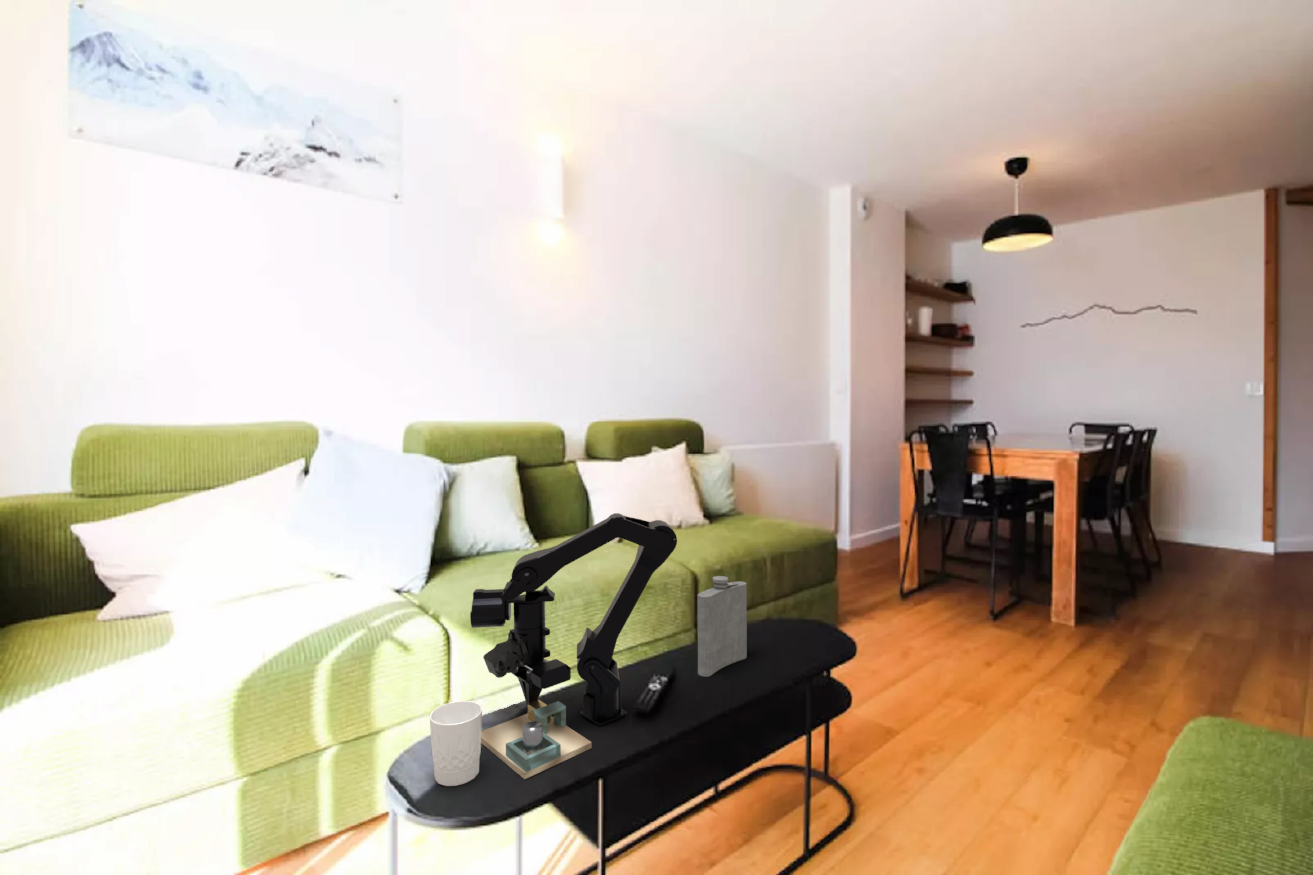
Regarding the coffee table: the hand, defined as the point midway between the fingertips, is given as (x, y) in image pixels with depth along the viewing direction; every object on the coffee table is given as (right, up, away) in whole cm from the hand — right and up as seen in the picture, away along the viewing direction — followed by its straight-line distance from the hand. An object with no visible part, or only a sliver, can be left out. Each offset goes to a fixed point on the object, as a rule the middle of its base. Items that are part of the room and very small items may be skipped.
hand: (531, 706), depth 112 cm
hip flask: (+38, -2, +25) cm, 46 cm away
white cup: (-8, -3, -17) cm, 19 cm away
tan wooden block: (+2, -1, -2) cm, 3 cm away
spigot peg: (+3, -2, -14) cm, 14 cm away
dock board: (+2, -3, -8) cm, 9 cm away
